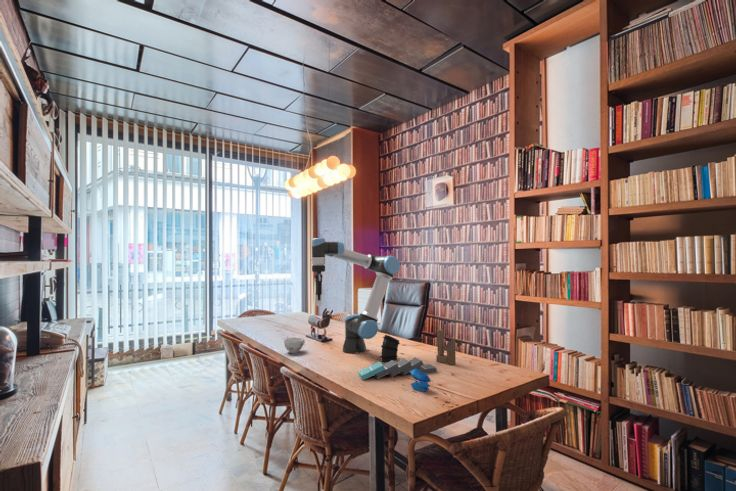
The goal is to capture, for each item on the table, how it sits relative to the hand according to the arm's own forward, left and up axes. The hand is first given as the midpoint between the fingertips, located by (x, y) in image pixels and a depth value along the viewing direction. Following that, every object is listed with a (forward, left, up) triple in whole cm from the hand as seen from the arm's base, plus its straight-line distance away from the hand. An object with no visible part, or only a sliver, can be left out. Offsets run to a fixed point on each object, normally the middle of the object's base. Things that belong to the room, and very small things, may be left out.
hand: (318, 305), depth 211 cm
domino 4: (0, +55, -31) cm, 63 cm away
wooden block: (-24, +68, -33) cm, 79 cm away
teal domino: (+17, +33, -31) cm, 48 cm away
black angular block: (-18, +37, -33) cm, 53 cm away
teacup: (-17, -27, -33) cm, 45 cm away
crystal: (+22, +64, -33) cm, 75 cm away
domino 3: (+4, +50, -31) cm, 59 cm away
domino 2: (+8, +45, -31) cm, 55 cm away
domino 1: (+13, +39, -31) cm, 52 cm away
